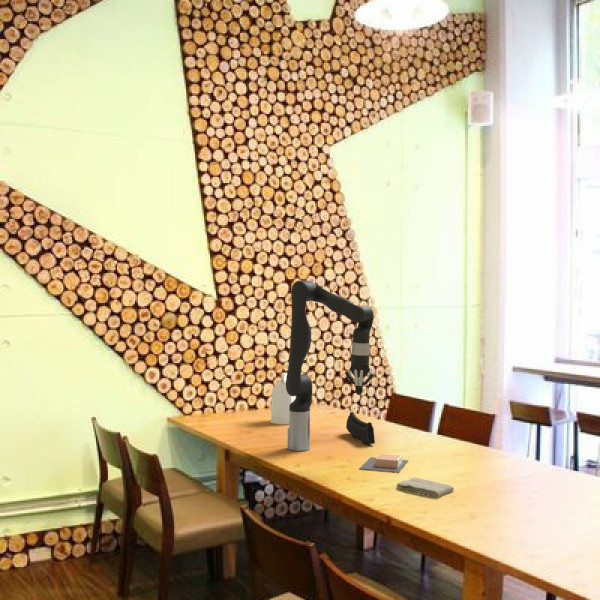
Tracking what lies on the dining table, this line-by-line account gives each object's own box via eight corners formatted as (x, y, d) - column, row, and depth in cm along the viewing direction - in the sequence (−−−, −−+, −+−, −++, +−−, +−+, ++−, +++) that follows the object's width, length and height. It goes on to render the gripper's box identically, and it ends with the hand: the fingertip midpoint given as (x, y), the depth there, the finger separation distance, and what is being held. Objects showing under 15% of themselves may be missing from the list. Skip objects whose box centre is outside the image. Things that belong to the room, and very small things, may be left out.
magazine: (377, 427, 332) (355, 398, 359) (370, 427, 331) (349, 399, 359) (372, 461, 337) (351, 430, 365) (366, 461, 336) (345, 430, 364)
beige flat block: (375, 458, 295) (397, 460, 292) (380, 453, 304) (402, 455, 301) (375, 466, 296) (397, 468, 293) (380, 461, 304) (402, 463, 301)
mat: (359, 469, 292) (359, 468, 292) (370, 458, 311) (370, 457, 311) (398, 472, 287) (398, 471, 287) (408, 461, 306) (408, 460, 306)
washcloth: (412, 483, 274) (412, 475, 274) (455, 492, 262) (455, 483, 262) (394, 489, 265) (394, 481, 265) (438, 499, 253) (438, 490, 253)
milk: (291, 424, 384) (291, 375, 384) (270, 423, 387) (271, 374, 387) (298, 420, 396) (298, 372, 395) (277, 419, 399) (278, 371, 398)
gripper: (342, 353, 305) (341, 394, 306) (373, 355, 301) (372, 397, 302) (347, 351, 312) (345, 391, 313) (378, 353, 308) (376, 394, 309)
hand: (358, 394), depth 307 cm, fingers closed
